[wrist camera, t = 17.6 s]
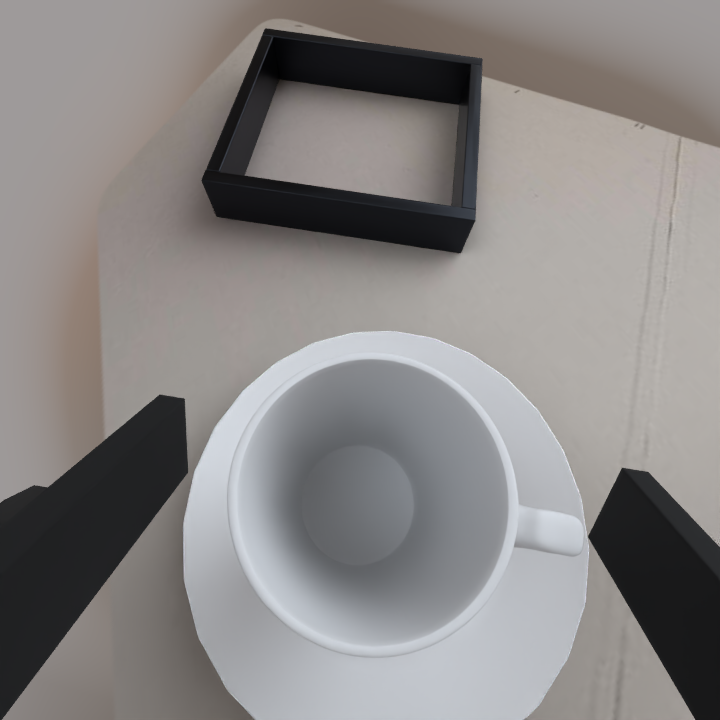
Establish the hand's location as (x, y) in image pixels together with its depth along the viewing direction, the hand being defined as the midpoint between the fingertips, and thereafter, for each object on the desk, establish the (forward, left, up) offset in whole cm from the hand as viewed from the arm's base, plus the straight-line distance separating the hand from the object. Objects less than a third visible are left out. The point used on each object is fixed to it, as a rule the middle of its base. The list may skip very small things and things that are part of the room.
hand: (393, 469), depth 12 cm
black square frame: (-5, +27, -12) cm, 30 cm away
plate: (+1, -1, -12) cm, 12 cm away
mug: (+1, -1, -9) cm, 10 cm away
